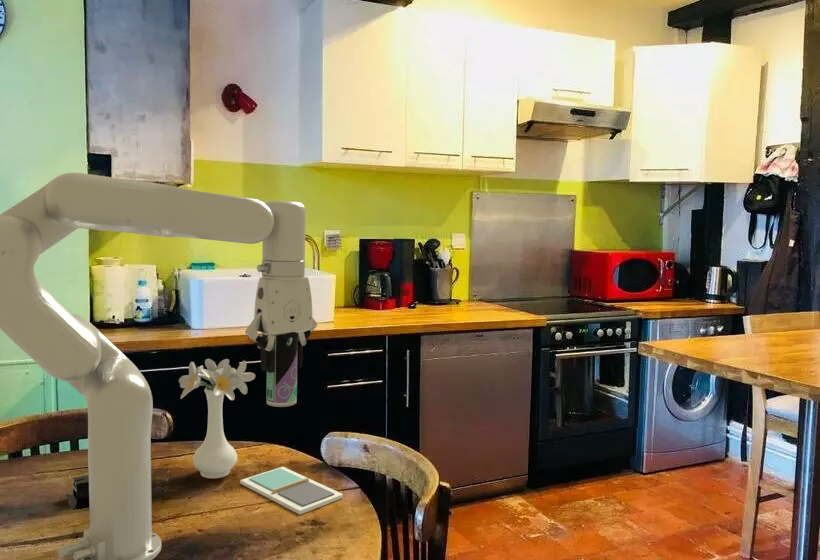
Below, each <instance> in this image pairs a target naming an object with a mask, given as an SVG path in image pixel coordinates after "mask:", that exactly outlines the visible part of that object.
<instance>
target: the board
mask: <svg viewBox="0 0 820 560" xmlns="http://www.w3.org/2000/svg"><path fill="white" fill-rule="evenodd" d="M240 485H242V486H244V487H246V488H248V489H250V490H252V491H254V492H255V493H258V494H259V495H261V496H263V497H265V498H267V499H269V500H271V501H272V502H275V503H277V504H278V505H280V506H282V507H284V508H286V509H288V510H290V511H292V512H294V513H295V514H297V515H303V514H305V513H309V512H311V511H313V510H315V509H318V508H322V507H323V506H326V505H328V504H331V503H334V502H336V501H340V500H342V499H343V498H344V494H343V493H341V492H340V491H337V490H334V488H331V487H328V486H326V485H324V484H322V483H319V482H317V481H316V480H313V479H312V478H309V477H307V476H304V475H303V474H299V472H295V471H293V470H292V469H289V468H288V467H285V466H281V467H278V468H274V469H270V470H267V471H265V472H261V473H258V474H255V475H252V476H250V477H246V478H243V479H240Z"/></svg>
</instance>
